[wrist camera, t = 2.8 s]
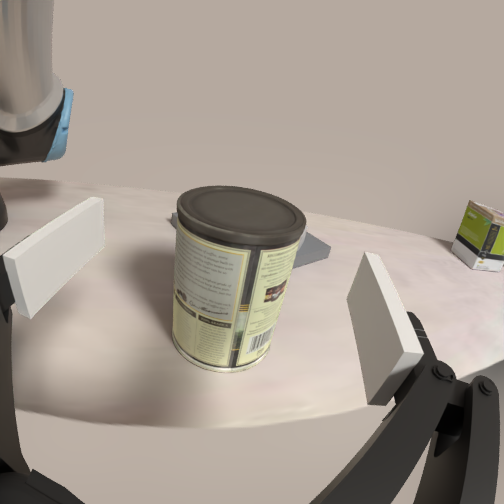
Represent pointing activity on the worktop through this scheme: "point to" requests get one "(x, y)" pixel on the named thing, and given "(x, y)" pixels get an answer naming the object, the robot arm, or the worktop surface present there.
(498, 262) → the tea box
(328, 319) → the worktop surface
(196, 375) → the worktop surface
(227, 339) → the coffee can
